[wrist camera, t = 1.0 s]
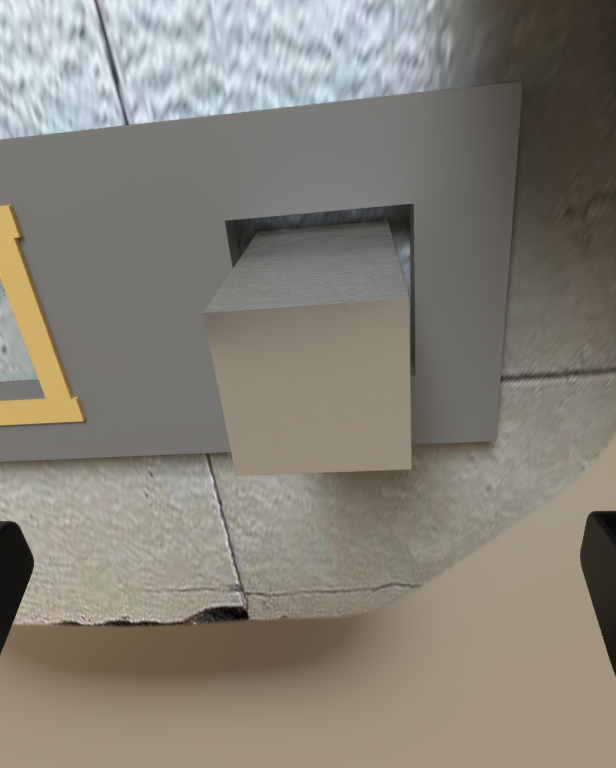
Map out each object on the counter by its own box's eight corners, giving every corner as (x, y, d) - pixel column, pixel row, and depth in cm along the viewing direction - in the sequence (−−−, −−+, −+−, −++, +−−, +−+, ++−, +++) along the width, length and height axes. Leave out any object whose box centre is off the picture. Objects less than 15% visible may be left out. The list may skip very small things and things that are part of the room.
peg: (387, 220, 18) (409, 298, 11) (391, 340, 21) (411, 469, 14) (258, 231, 19) (202, 312, 12) (274, 347, 21) (236, 475, 14)
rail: (509, 82, 16) (525, 81, 15) (487, 420, 22) (497, 444, 20) (-250, 167, 19) (-300, 174, 18) (-97, 446, 25) (-126, 469, 23)
